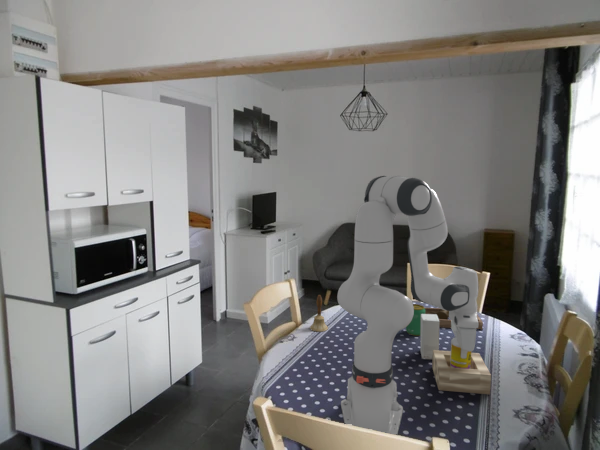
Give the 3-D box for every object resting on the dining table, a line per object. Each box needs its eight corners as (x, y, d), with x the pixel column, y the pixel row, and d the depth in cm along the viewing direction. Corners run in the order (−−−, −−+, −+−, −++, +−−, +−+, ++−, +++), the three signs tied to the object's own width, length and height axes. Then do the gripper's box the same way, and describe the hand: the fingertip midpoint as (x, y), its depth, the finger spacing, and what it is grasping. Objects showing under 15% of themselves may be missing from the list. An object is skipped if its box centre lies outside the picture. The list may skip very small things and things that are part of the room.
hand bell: (331, 327, 192) (331, 293, 190) (322, 333, 185) (322, 298, 183) (315, 323, 196) (315, 291, 194) (306, 329, 189) (306, 295, 187)
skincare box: (438, 360, 159) (440, 321, 156) (420, 359, 160) (422, 320, 158) (436, 351, 167) (437, 313, 164) (419, 349, 168) (420, 312, 166)
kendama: (471, 330, 189) (427, 321, 199) (474, 323, 197) (431, 315, 207) (473, 317, 188) (428, 309, 198) (475, 311, 196) (432, 303, 206)
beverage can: (428, 333, 184) (429, 307, 182) (416, 337, 180) (417, 311, 178) (414, 327, 191) (415, 302, 189) (402, 331, 186) (402, 305, 185)
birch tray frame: (489, 395, 135) (491, 375, 134) (438, 390, 138) (439, 371, 137) (477, 371, 151) (479, 353, 150) (432, 367, 154) (432, 350, 153)
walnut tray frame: (482, 329, 188) (482, 322, 187) (422, 326, 192) (422, 319, 192) (473, 316, 204) (474, 310, 203) (418, 313, 208) (418, 307, 208)
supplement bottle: (470, 374, 139) (472, 337, 138) (449, 370, 142) (451, 335, 140) (470, 365, 146) (471, 330, 144) (450, 362, 148) (451, 327, 146)
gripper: (447, 303, 152) (446, 339, 154) (458, 324, 132) (456, 365, 134) (465, 304, 150) (463, 340, 152) (480, 325, 131) (477, 366, 133)
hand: (460, 352), depth 143 cm, fingers closed on supplement bottle, 7 cm apart
